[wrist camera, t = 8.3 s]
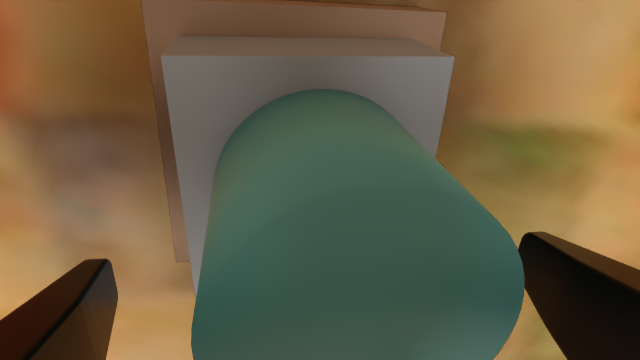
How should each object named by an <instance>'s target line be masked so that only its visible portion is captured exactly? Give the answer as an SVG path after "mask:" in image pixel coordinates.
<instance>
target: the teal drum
mask: <svg viewBox="0 0 640 360" xmlns="http://www.w3.org/2000/svg"><path fill="white" fill-rule="evenodd" d="M524 283H525V277H524V270H523V263H522V260H521V257H520V254H519V251H518V249H517V247H516V245H515V243H514V241H513V240H512V238H511V236H510V235H509V233H508V232H507V231H506V230H505V229H504V227H503V226H502V225H501V224H500V223H499V222H498V221H497V220H496V219H495V218H494V217H493V216H492V215H491V214H490V213H489V212H488V211H487V210H486V209H485V208H484V207H483V206H482V205H481V204H480V203H479V202H478V201H477V200H476V199H475V198H474V197H473V196H472V195H471V194H470V193H469V192H468V191H467V190H466V189H465V188H464V187H463V186H462V185H461V184H460V183H459V182H458V181H457V180H456V179H455V178H454V177H453V176H452V175H451V174H450V173H449V172H448V171H447V170H446V169H445V168H444V167H443V166H442V165H441V164H440V163H439V162H438V161H437V160H436V159H435V158H434V157H433V156H432V155H431V154H430V153H429V152H428V151H427V150H426V149H425V148H424V147H423V146H422V145H421V144H420V143H419V142H418V141H417V140H416V139H415V138H414V137H413V136H412V135H411V134H410V133H409V132H408V131H407V130H406V129H405V128H404V127H403V126H402V125H401V124H400V123H399V122H398V121H397V120H396V119H395V118H394V117H393V116H392V115H391V114H390V113H388V112H387V111H386V110H385V109H384V108H382V107H381V106H379V105H378V104H376V103H374V102H373V101H371V100H369V99H367V98H365V97H362V96H360V95H357V94H354V93H350V92H346V91H341V90H332V89H313V90H306V91H299V92H296V93H292V94H289V95H285V96H283V97H280V98H278V99H276V100H273V101H271V102H269V103H268V104H266V105H264V106H262V107H261V108H259V109H258V110H256V111H255V112H254V113H252V114H251V115H250V116H249V117H247V118H246V119H245V120H244V121H243V122H242V123H241V124H240V125H239V126H238V127H237V128H236V130H235V131H234V132H233V134H232V135H231V136H230V138H229V139H228V141H227V143H226V145H225V146H224V148H223V150H222V152H221V155H220V157H219V160H218V163H217V167H216V172H215V177H214V183H213V190H212V196H211V203H210V210H209V216H208V223H207V230H206V236H205V243H204V250H203V256H202V263H201V269H200V276H199V283H198V289H197V296H196V303H195V309H194V316H193V322H192V335H191V347H192V353H193V359H194V360H493V359H494V358H495V356H496V355H497V354H498V353H499V351H500V350H501V348H502V347H503V345H504V344H505V343H506V341H507V340H508V338H509V336H510V334H511V332H512V330H513V328H514V326H515V324H516V322H517V319H518V316H519V313H520V311H521V307H522V302H523V297H524Z"/></svg>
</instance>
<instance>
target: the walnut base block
mask: <svg viewBox="0 0 640 360" xmlns="http://www.w3.org/2000/svg"><path fill="white" fill-rule="evenodd" d="M141 4H142V11H143V18H144V26H145V33H146V41H147V48H148V56H149V63H150V71H151V78H152V86H153V93H154V100H155V108H156V115H157V123H158V130H159V138H160V145H161V153H162V160H163V168H164V175H165V182H166V190H167V197H168V205H169V212H170V220H171V227H172V235H173V242H174V250H175V257H176V262H190V256H189V249H188V242H187V235H186V228H185V221H184V214H183V207H182V200H181V193H180V186H179V179H178V172H177V165H176V158H175V151H174V144H173V137H172V130H171V123H170V116H169V109H168V102H167V95H166V88H165V82H164V75H163V68H162V61H161V55H162V54H163V53H164V52H165V50H166V49H167V48H168V47H169V46H170V45H171V44H172V42H173V41H174V40H175V39H176V38H177V37H178V36H231V37H318V38H404V39H412V40H415V41H417V42H420V43H422V44H425V45H427V46H430V47H432V48H435V49H437V50H440V47H441V42H442V37H443V31H444V26H445V20H446V15H447V12H441V11H436V10H431V9H426V8H420V7H408V6H389V5H369V4H350V3H330V2H311V1H291V0H141Z"/></svg>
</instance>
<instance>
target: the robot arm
mask: <svg viewBox="0 0 640 360" xmlns="http://www.w3.org/2000/svg"><path fill="white" fill-rule="evenodd" d="M518 251H519V254H520V257H521V260H522V263H523V270H524V277H525V283H524V288H525V289H526V291H527V293H528V295H529V297H530V299H531V301H532V302H533V304H534V306H535V308H536V310H537V312H538V314H539V315H540V317H541V319H542V321H543V323H544V324H545V326H546V328H547V329H548V331H549V333H550V334H551V336H552V337H553V339H554V340H555V342H556V343H557V345H558V346H559V348H560V349H561V351H562V352H563V354H564V355H565V357H566V358H567V360H640V270H638V269H636V268H633V267H631V266H628V265H626V264H623V263H621V262H618V261H616V260H613V259H611V258H608V257H606V256H603V255H601V254H598V253H596V252H593V251H591V250H588V249H586V248H583V247H581V246H578V245H576V244H573V243H571V242H568V241H566V240H563V239H561V238H558V237H556V236H553V235H551V234H548V233H546V232H528V233H526V234H525V235H524V236H523V237H522V239H521V242H520V245H519V248H518ZM117 301H118V292H117V287H116V282H115V278H114V273H113V269H112V265H111V262H110V261H109V260H108V259H105V258H104V259H88V260H84V261H83V262H81V263H80V264H78V265H77V266H76V267H74V268H73V269H71V270H70V271H69V272H67V273H66V274H64V275H63V276H62V277H60V278H59V279H57V280H56V281H55V282H53V283H52V284H50V285H49V286H48V287H46V288H45V289H43V290H42V291H41V292H39V293H38V294H36V295H35V296H34V297H32V298H31V299H29V300H28V301H27V302H25V303H24V304H22V305H21V306H20V307H18V308H17V309H15V310H14V311H13V312H11V313H10V314H8V315H7V316H6V317H4V318H3V319H1V320H0V360H106V356H107V351H108V346H109V341H110V336H111V331H112V327H113V322H114V317H115V312H116V307H117Z"/></svg>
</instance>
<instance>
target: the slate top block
mask: <svg viewBox="0 0 640 360" xmlns="http://www.w3.org/2000/svg"><path fill="white" fill-rule="evenodd" d="M454 59H455V56H452V55H450V54H447V53H445V52H442V51H440V50H437V49H435V48H432V47H430V46H427V45H425V44H422V43H420V42H417V41H415V40H412V39H404V38H318V37H231V36H178V37H177V38H176V39H175V40H174V41H173V42H172V44H171V45H170V46H169V47H168V48H167V49H166V50H165V52H164V53H163V54H162V55H161V61H162V68H163V75H164V82H165V88H166V95H167V102H168V109H169V116H170V123H171V130H172V137H173V144H174V151H175V158H176V165H177V172H178V179H179V186H180V193H181V200H182V207H183V214H184V221H185V228H186V235H187V242H188V249H189V256H190V262H191V269H192V276H193V283H194V290H195V296H197V289H198V283H199V276H200V269H201V263H202V256H203V250H204V243H205V236H206V230H207V223H208V216H209V210H210V203H211V196H212V190H213V183H214V177H215V172H216V167H217V163H218V160H219V157H220V155H221V152H222V150H223V148H224V146H225V145H226V143H227V141H228V139H229V138H230V136H231V135H232V134H233V132H234V131H235V130H236V128H237V127H238V126H239V125H240V124H241V123H242V122H243V121H244V120H245V119H246V118H247V117H249V116H250V115H251V114H252V113H254V112H255V111H256V110H258V109H259V108H261V107H262V106H264V105H266V104H268V103H269V102H271V101H273V100H276V99H278V98H280V97H283V96H285V95H289V94H292V93H296V92H299V91H306V90H313V89H332V90H341V91H346V92H350V93H354V94H357V95H360V96H362V97H365V98H367V99H369V100H371V101H373V102H374V103H376V104H378V105H379V106H381V107H382V108H384V109H385V110H386V111H387V112H388V113H390V114H391V115H392V116H393V117H394V118H395V119H396V120H397V121H398V122H399V123H400V124H401V125H402V126H403V127H404V128H405V129H406V130H407V131H408V132H409V133H410V134H411V135H412V136H413V137H414V138H415V139H416V140H417V141H418V142H419V143H420V144H421V145H422V146H423V147H424V148H425V149H426V150H427V151H428V152H429V153H430V154H431V155H432V156H433V157H434V158H435V159H436V155H437V150H438V145H439V139H440V134H441V128H442V123H443V118H444V112H445V107H446V102H447V96H448V91H449V86H450V80H451V75H452V70H453V64H454Z"/></svg>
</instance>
